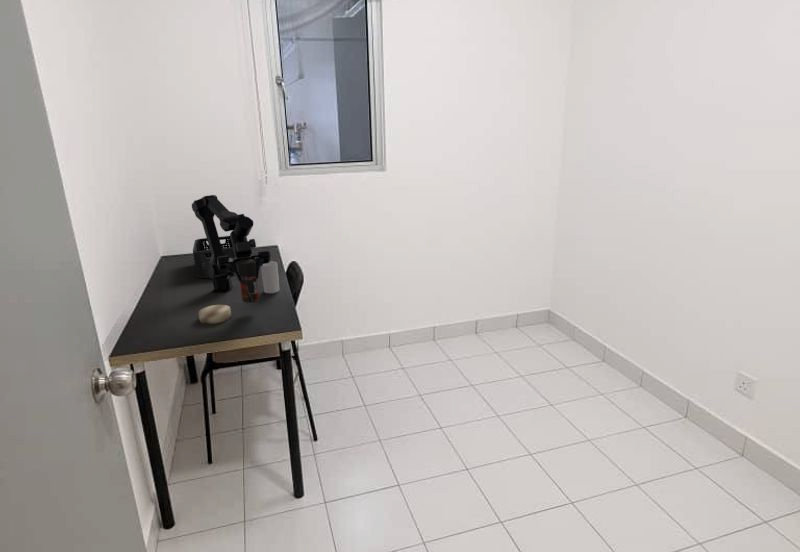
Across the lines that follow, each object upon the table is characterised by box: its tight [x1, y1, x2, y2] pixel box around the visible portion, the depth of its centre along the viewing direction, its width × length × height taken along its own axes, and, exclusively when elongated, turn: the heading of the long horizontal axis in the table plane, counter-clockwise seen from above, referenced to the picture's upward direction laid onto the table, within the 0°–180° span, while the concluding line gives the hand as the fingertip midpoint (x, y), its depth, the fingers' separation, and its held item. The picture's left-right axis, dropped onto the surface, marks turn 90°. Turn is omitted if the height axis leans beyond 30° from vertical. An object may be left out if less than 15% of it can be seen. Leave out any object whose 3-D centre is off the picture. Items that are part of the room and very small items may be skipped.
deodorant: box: [238, 259, 260, 304], centre depth 182 cm, size 6×6×15 cm
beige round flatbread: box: [198, 304, 232, 325], centre depth 181 cm, size 11×11×3 cm
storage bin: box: [192, 235, 239, 279], centre depth 239 cm, size 29×19×13 cm
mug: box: [260, 261, 280, 294], centre depth 207 cm, size 10×7×12 cm, turn 9°
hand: (248, 279), depth 180 cm, fingers closed on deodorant, 6 cm apart
